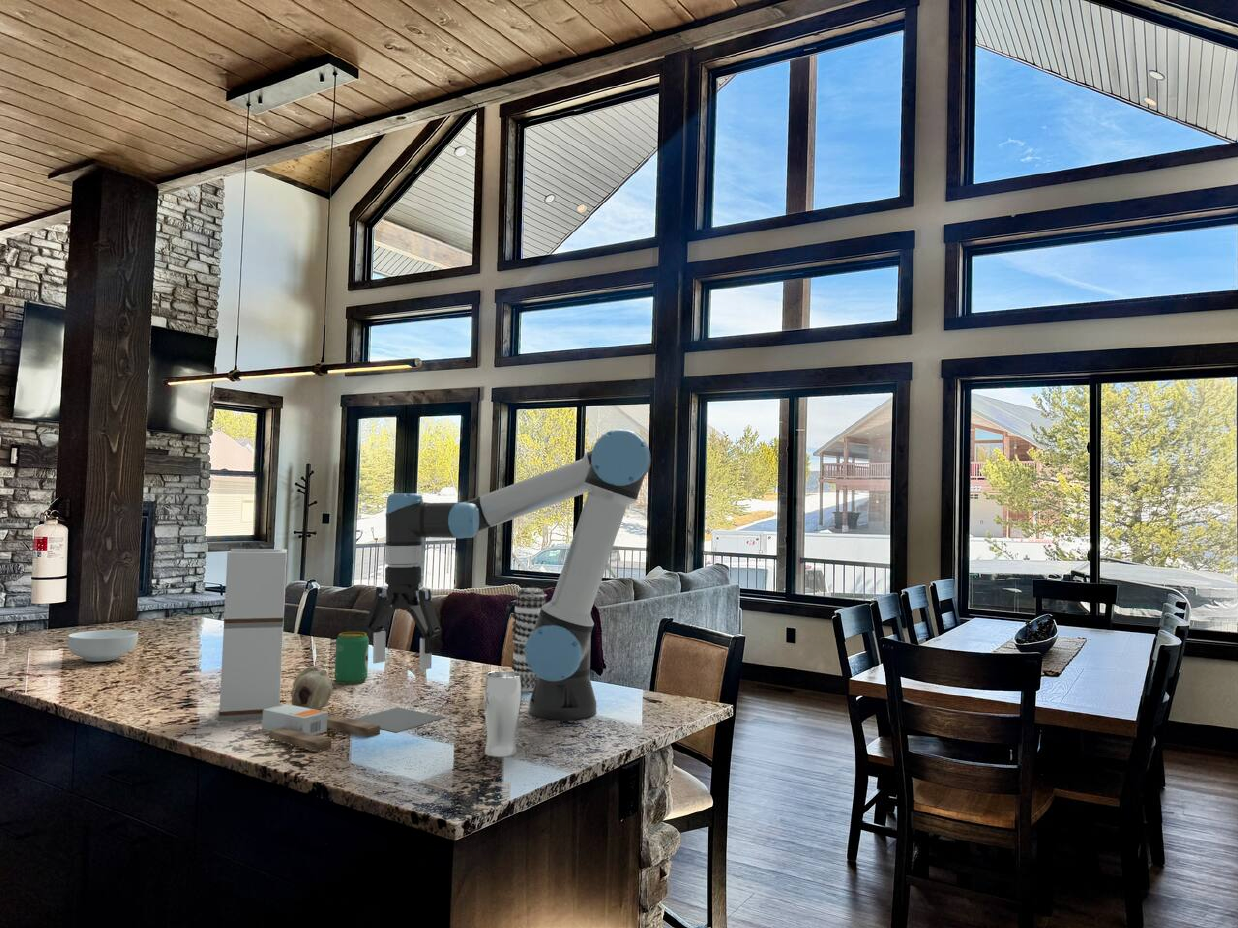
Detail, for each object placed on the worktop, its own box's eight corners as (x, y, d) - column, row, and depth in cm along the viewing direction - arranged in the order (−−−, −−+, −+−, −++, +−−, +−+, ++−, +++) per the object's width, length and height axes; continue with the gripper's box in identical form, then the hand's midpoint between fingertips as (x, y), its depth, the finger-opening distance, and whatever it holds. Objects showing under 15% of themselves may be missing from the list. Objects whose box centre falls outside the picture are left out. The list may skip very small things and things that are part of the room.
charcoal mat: (444, 719, 177) (444, 717, 177) (396, 734, 165) (396, 731, 165) (397, 709, 184) (397, 707, 184) (348, 723, 172) (348, 720, 172)
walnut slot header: (379, 735, 163) (380, 725, 164) (317, 754, 151) (318, 743, 151) (332, 724, 171) (332, 714, 171) (268, 741, 158) (269, 730, 158)
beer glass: (520, 749, 157) (523, 670, 158) (517, 761, 150) (520, 678, 151) (484, 748, 157) (487, 669, 158) (479, 760, 150) (482, 677, 151)
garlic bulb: (290, 708, 182) (292, 662, 183) (330, 706, 185) (332, 661, 186) (289, 719, 173) (291, 671, 174) (331, 716, 176) (333, 669, 177)
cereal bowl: (149, 658, 231) (150, 633, 231) (85, 667, 217) (86, 640, 217) (117, 651, 240) (118, 626, 240) (54, 659, 226) (55, 633, 226)
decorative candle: (503, 689, 205) (507, 589, 206) (517, 682, 214) (520, 586, 215) (538, 693, 203) (542, 591, 204) (550, 685, 212) (553, 587, 213)
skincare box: (304, 717, 159) (261, 709, 165) (303, 739, 159) (260, 730, 165) (328, 710, 165) (286, 703, 170) (327, 732, 165) (285, 724, 170)
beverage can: (368, 683, 208) (370, 635, 209) (335, 685, 205) (337, 637, 206) (365, 676, 215) (367, 630, 216) (333, 678, 212) (335, 631, 213)
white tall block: (279, 705, 184) (287, 549, 186) (278, 717, 174) (286, 552, 176) (223, 709, 180) (231, 548, 182) (218, 721, 170) (227, 552, 172)
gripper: (459, 566, 173) (458, 668, 172) (375, 561, 185) (373, 656, 184) (434, 569, 166) (433, 675, 165) (349, 564, 179) (347, 662, 178)
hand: (401, 665), depth 175 cm, fingers open, 13 cm apart
